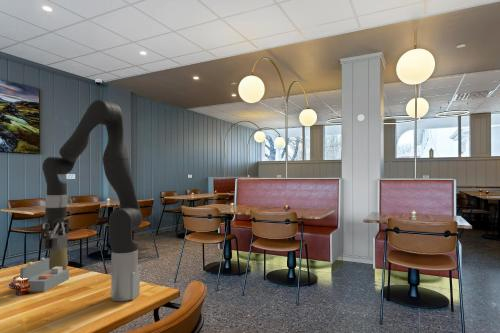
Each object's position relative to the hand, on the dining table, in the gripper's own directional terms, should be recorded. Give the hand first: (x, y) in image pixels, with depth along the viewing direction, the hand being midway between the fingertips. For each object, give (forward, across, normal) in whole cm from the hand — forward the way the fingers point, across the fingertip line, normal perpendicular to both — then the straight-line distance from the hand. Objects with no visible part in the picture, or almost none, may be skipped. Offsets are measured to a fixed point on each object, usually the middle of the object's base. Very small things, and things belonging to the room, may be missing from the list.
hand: (54, 246), depth 127 cm
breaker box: (+17, +3, +5) cm, 18 cm away
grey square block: (+1, 0, 0) cm, 1 cm away
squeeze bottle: (+17, +19, +12) cm, 28 cm away
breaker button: (+16, 0, +3) cm, 16 cm away
